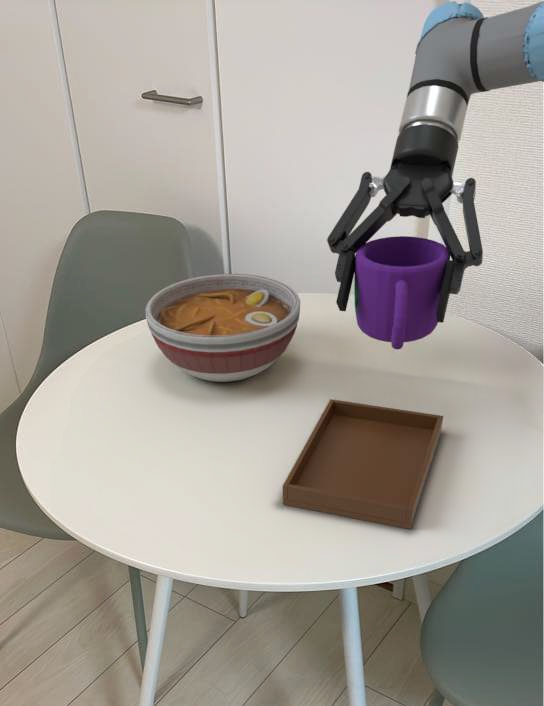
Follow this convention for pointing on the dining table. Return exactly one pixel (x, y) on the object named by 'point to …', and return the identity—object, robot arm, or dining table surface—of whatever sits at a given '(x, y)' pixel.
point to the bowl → (223, 324)
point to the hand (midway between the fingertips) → (389, 312)
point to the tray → (365, 463)
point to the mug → (399, 287)
